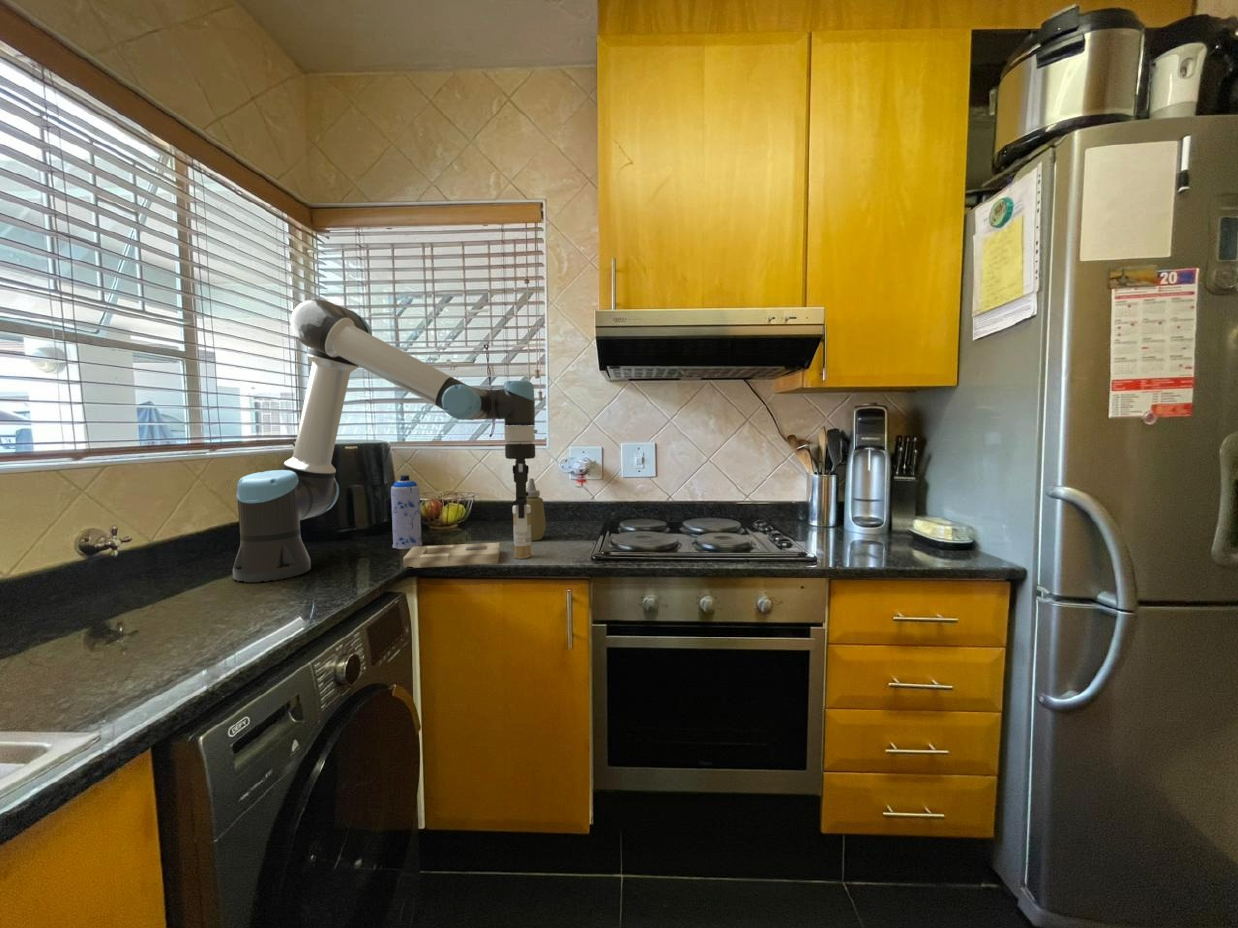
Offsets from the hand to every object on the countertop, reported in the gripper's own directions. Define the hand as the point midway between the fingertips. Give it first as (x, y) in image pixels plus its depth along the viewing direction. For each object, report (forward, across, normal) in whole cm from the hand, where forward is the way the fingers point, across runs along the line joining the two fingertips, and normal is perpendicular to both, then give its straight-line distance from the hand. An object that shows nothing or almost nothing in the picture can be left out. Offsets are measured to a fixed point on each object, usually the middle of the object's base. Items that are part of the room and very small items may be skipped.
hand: (521, 526), depth 136 cm
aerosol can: (+8, +20, +32) cm, 39 cm away
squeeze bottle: (+8, +21, -3) cm, 23 cm away
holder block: (+8, +1, +17) cm, 19 cm away
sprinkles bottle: (+8, 0, 0) cm, 8 cm away
